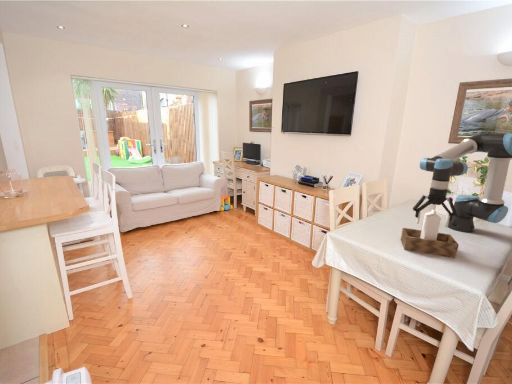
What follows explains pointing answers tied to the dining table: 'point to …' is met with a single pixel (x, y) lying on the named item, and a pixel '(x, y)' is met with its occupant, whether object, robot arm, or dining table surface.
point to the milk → (430, 226)
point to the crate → (429, 243)
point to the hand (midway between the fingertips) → (431, 224)
